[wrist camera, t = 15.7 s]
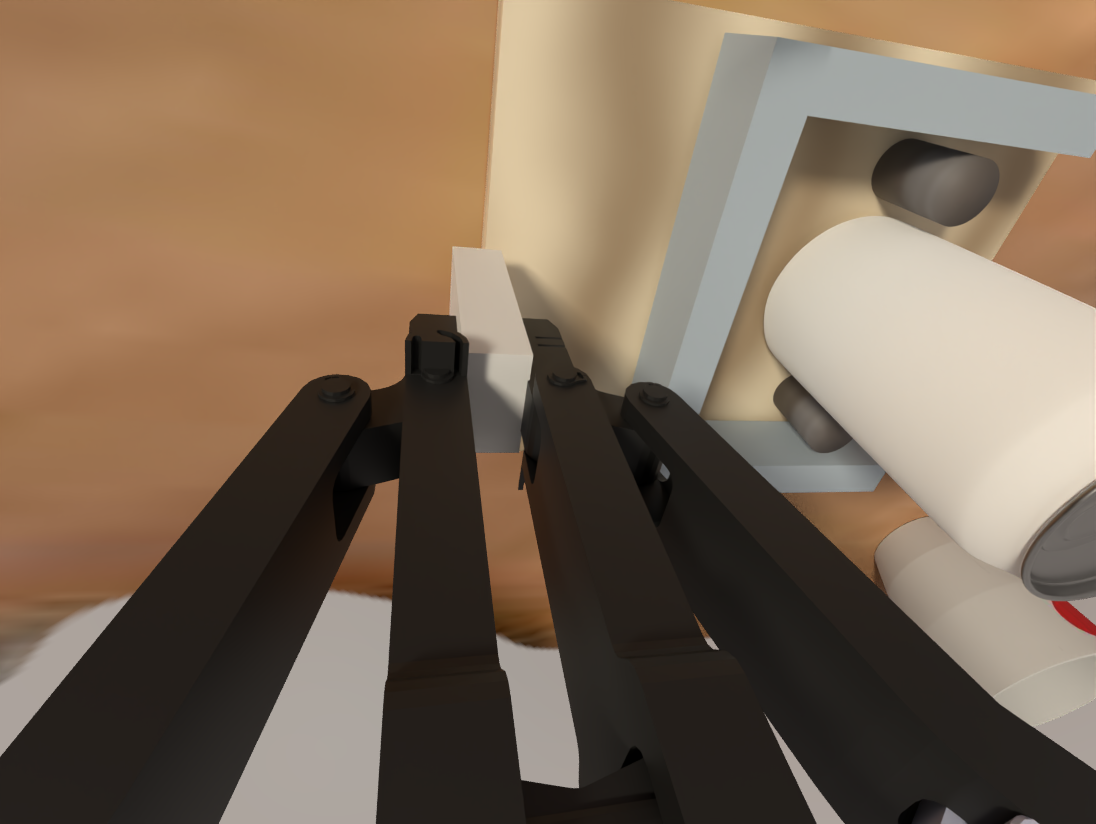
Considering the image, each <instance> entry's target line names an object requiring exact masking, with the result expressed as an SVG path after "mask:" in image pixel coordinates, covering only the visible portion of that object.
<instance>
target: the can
mask: <svg viewBox="0 0 1096 824" xmlns="http://www.w3.org/2000/svg"><path fill="white" fill-rule="evenodd" d="M764 334H765V339H766V342H767V345H768V347H769V349H770V351H771V352H772V353H773V355H774V356H775V357H776V358H777V360H778V361H779V362H780V363H781V364H782V365H783V366H784V367H785V368H786V369H787V370H788V371H789V372H790V373H791V375H792V376H793V377H794V378H795V379H796V380H797V381H798V382H799V383H800V384H801V385H802V386H803V387H804V388H805V389H806V390H807V391H808V392H809V393H810V394H811V395H812V396H813V397H814V399H815V400H816V401H817V402H818V403H819V404H820V405H821V406H822V407H823V408H824V409H825V410H826V411H827V412H828V413H829V414H830V415H831V416H832V417H833V418H834V419H835V420H836V421H837V422H838V423H839V424H840V425H841V426H842V427H843V428H844V430H845V431H846V432H847V433H848V434H849V435H850V436H851V437H852V438H853V439H854V440H855V441H856V442H857V443H858V444H859V445H860V446H861V447H862V448H863V449H864V450H865V451H866V452H867V453H868V454H869V455H870V456H871V457H872V458H873V459H874V460H875V461H876V462H877V463H878V464H879V465H880V467H881V468H882V469H883V470H884V471H885V472H886V473H887V474H888V475H889V476H890V477H891V478H892V479H893V480H894V481H895V482H896V483H897V484H898V485H899V486H900V487H901V488H902V489H903V490H904V491H905V492H906V493H907V494H908V495H909V496H910V497H911V498H912V499H913V500H914V501H915V502H916V503H917V504H918V505H919V506H920V507H921V508H922V509H923V510H924V511H925V512H926V513H927V514H928V515H929V516H930V517H931V518H932V519H933V520H934V521H935V523H936V524H937V525H938V526H939V527H940V528H941V529H942V530H943V531H945V532H946V533H947V534H948V535H949V536H950V537H951V538H952V539H953V540H954V541H955V542H956V543H957V544H958V545H959V546H960V547H962V548H963V549H964V550H965V551H966V552H968V553H969V554H970V555H972V556H974V557H975V558H977V559H979V560H981V561H983V562H985V563H988V564H990V565H992V566H994V567H997V568H999V569H1002V570H1004V571H1006V572H1009V573H1011V574H1013V575H1015V576H1017V577H1019V578H1021V579H1022V582H1023V584H1024V586H1025V588H1026V589H1027V590H1028V591H1029V592H1030V593H1032V594H1033V595H1035V596H1037V597H1039V598H1042V599H1045V600H1051V601H1073V600H1080V599H1087V598H1091V597H1096V308H1094V307H1092V306H1089V305H1087V304H1085V303H1083V302H1081V301H1078V300H1076V299H1074V298H1072V297H1070V296H1067V295H1065V294H1063V293H1061V292H1059V291H1056V290H1054V289H1052V288H1050V287H1048V286H1045V285H1043V284H1041V283H1039V282H1037V281H1034V280H1032V279H1030V278H1028V277H1026V276H1023V275H1021V274H1019V273H1017V272H1015V271H1012V270H1010V269H1008V268H1006V267H1004V266H1001V265H999V264H997V263H995V262H993V261H990V260H988V259H986V258H984V257H981V256H979V255H977V254H975V253H973V252H970V251H968V250H966V249H964V248H962V247H959V246H957V245H955V244H953V243H950V242H948V241H946V240H944V239H941V238H939V237H937V236H935V235H932V234H930V233H928V232H926V231H923V230H921V229H919V228H917V227H914V226H912V225H910V224H907V223H905V222H902V221H900V220H897V219H894V218H890V217H885V216H866V217H860V218H856V219H852V220H849V221H846V222H843V223H841V224H838V225H836V226H834V227H832V228H830V229H828V230H827V231H825V232H823V233H822V234H820V235H819V236H817V237H816V238H814V239H813V240H812V241H810V242H809V243H808V244H806V245H805V246H804V247H803V248H802V249H801V250H800V251H798V252H797V253H796V254H795V255H794V257H793V258H792V259H791V260H790V261H789V262H788V263H787V265H786V266H785V267H784V269H783V270H782V271H781V273H780V274H779V276H778V277H777V279H776V281H775V282H774V284H773V286H772V288H771V291H770V293H769V296H768V299H767V302H766V307H765V313H764Z"/></svg>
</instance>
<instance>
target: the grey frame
mask: <svg viewBox="0 0 1096 824" xmlns="http://www.w3.org/2000/svg"><path fill="white" fill-rule="evenodd" d="M807 116H812V117H819V118H826V119H832V120H839V121H846V122H852V123H859V124H866V125H873V126H879V127H886V128H893V129H899V130H906V131H913V132H919V133H926V134H933V135H940V136H946V137H953V138H960V139H966V140H973V141H980V142H987V143H993V144H1000V145H1007V146H1013V147H1020V148H1027V149H1033V150H1040V151H1047V152H1054V153H1060V154H1067V155H1074V156H1080V157H1087V158H1090V157H1091V155H1092V154H1093V152H1094V151H1095V149H1096V94H1090V93H1085V92H1079V91H1074V90H1068V89H1062V88H1057V87H1051V86H1046V85H1040V84H1035V83H1029V82H1024V81H1018V80H1013V79H1007V78H1002V77H996V76H991V75H985V74H980V73H974V72H969V71H963V70H958V69H952V68H947V67H941V66H936V65H930V64H925V63H919V62H914V61H908V60H903V59H897V58H892V57H886V56H881V55H875V54H870V53H864V52H859V51H853V50H848V49H842V48H837V47H831V46H825V45H820V44H814V43H809V42H803V41H798V40H792V39H787V38H781V37H774V36H761V35H749V34H736V33H725V34H724V38H723V42H722V45H721V49H720V53H719V57H718V60H717V64H716V68H715V72H714V75H713V79H712V83H711V87H710V91H709V94H708V98H707V102H706V106H705V109H704V113H703V117H702V121H701V124H700V128H699V132H698V136H697V139H696V143H695V147H694V151H693V155H692V158H691V162H690V166H689V170H688V173H687V177H686V181H685V185H684V188H683V192H682V196H681V200H680V203H679V207H678V211H677V215H676V218H675V222H674V226H673V230H672V234H671V237H670V241H669V245H668V249H667V252H666V256H665V260H664V264H663V267H662V271H661V275H660V279H659V282H658V286H657V290H656V294H655V298H654V301H653V305H652V309H651V313H650V316H649V320H648V324H647V328H646V331H645V335H644V339H643V343H642V346H641V350H640V354H639V358H638V362H637V365H636V369H635V373H634V377H633V380H632V384H633V383H637V382H653V383H658V384H661V385H662V386H664V387H667V388H669V389H671V390H672V391H673V392H675V393H676V394H678V395H679V396H680V397H681V398H682V399H683V400H684V401H685V402H686V403H687V404H688V405H689V406H690V407H691V408H692V409H693V410H694V411H695V412H696V413H697V414H698V415H699V414H700V411H701V408H702V405H703V403H704V400H705V397H706V394H707V392H708V389H709V386H710V383H711V381H712V378H713V375H714V372H715V370H716V367H717V364H718V361H719V358H720V356H721V353H722V350H723V347H724V345H725V342H726V339H727V336H728V334H729V331H730V328H731V325H732V323H733V320H734V317H735V314H736V312H737V309H738V306H739V303H740V301H741V298H742V295H743V292H744V290H745V287H746V284H747V281H748V279H749V276H750V273H751V270H752V268H753V265H754V262H755V259H756V257H757V254H758V251H759V248H760V246H761V243H762V240H763V237H764V234H765V232H766V229H767V226H768V223H769V221H770V218H771V215H772V212H773V210H774V207H775V204H776V201H777V199H778V196H779V193H780V190H781V188H782V185H783V182H784V179H785V177H786V174H787V171H788V168H789V166H790V163H791V160H792V157H793V155H794V152H795V149H796V146H797V144H798V141H799V138H800V135H801V133H802V130H803V127H804V124H805V121H806V119H807ZM705 421H706V422H707V423H708V424H709V425H710V426H711V427H712V428H713V429H714V430H715V431H716V432H717V433H718V434H719V435H720V436H721V437H722V438H723V439H724V440H725V441H726V442H728V443H729V444H730V445H731V446H732V447H733V448H734V449H735V450H736V451H737V452H738V453H739V454H740V455H741V456H742V457H743V458H744V459H745V460H746V461H747V462H748V463H749V464H750V465H751V466H752V467H754V468H755V469H756V470H757V471H758V472H759V473H760V474H761V475H762V476H763V477H764V478H765V479H766V480H767V481H768V482H769V483H770V484H771V485H772V486H773V487H774V488H775V489H776V490H777V491H778V492H780V493H798V492H861V491H874V489H875V488H876V486H877V485H878V483H879V482H880V480H881V479H882V477H883V475H884V474H885V471H884V470H883V469H882V468H881V467H880V465H879V464H878V463H877V462H876V461H875V460H874V459H873V458H872V457H871V456H870V455H869V454H868V453H867V452H866V451H865V450H864V449H863V448H862V447H861V446H860V445H859V444H858V443H857V442H856V441H855V440H854V439H852V440H851V441H850V442H849V443H848V444H846V445H845V446H844V447H842V448H840V449H838V450H836V451H833V452H830V453H818V452H816V451H814V450H813V449H812V448H811V447H810V446H809V445H808V443H807V442H806V441H805V440H804V439H803V438H802V436H801V435H800V434H799V433H798V432H797V431H796V429H795V428H794V427H793V426H792V425H791V424H790V422H787V421H720V420H705ZM660 472H661V473H662V475H663V476H664V477H665V478H666V479H668V477H669V475H670V472H669V471H668V469H667V468H666V467H665V465H664V464H662V467H661V470H660Z"/></svg>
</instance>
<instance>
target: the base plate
mask: <svg viewBox="0 0 1096 824" xmlns="http://www.w3.org/2000/svg"><path fill="white" fill-rule="evenodd" d="M725 33H736V34H749V35H761V36H774V37H781V38H787V39H792V40H798V41H803V42H809V43H814V44H820V45H825V46H831V47H837V48H842V49H848V50H853V51H859V52H864V53H870V54H875V55H881V56H886V57H892V58H897V59H903V60H908V61H914V62H919V63H925V64H930V65H936V66H941V67H947V68H952V69H958V70H963V71H969V72H974V73H980V74H985V75H991V76H996V77H1002V78H1007V79H1013V80H1018V81H1024V82H1029V83H1035V84H1040V85H1046V86H1051V87H1057V88H1062V89H1068V90H1074V91H1079V92H1085V93H1090V94H1095V93H1096V80H1091V79H1086V78H1080V77H1075V76H1070V75H1064V74H1059V73H1054V72H1049V71H1043V70H1038V69H1033V68H1027V67H1022V66H1017V65H1011V64H1006V63H1001V62H995V61H990V60H985V59H980V58H974V57H969V56H964V55H958V54H953V53H948V52H942V51H937V50H932V49H927V48H921V47H916V46H911V45H905V44H900V43H895V42H889V41H884V40H879V39H873V38H868V37H863V36H858V35H852V34H847V33H842V32H836V31H831V30H826V29H820V28H815V27H810V26H805V25H799V24H794V23H789V22H783V21H778V20H773V19H767V18H762V17H757V16H751V15H746V14H741V13H736V12H730V11H725V10H720V9H714V8H709V7H704V6H698V5H693V4H688V3H682V2H677V1H672V0H498V15H497V29H496V44H495V58H494V73H493V87H492V102H491V116H490V131H489V146H488V160H487V175H486V189H485V204H484V218H483V233H482V247H481V249H491V250H501V251H502V254H503V258H504V261H505V264H506V268H507V271H508V274H509V277H510V281H511V284H512V287H513V291H514V294H515V297H516V300H517V304H518V307H519V310H520V314H521V317H522V318H532V319H548V320H549V321H550V322H551V323H552V324H554V325H555V326H556V327H557V328H558V329H559V332H560V334H561V337H562V340H563V342H564V344H565V347H566V349H567V351H568V354H569V356H570V359H571V361H572V364H573V366H574V367H575V368H578V369H580V370H581V371H583V372H584V373H586V374H587V375H588V376H589V378H590V379H591V381H592V383H593V385H594V387H595V389H596V390H598V391H601V392H605V393H609V394H613V395H618V396H622V397H624V394H625V391H626V388H627V387H628V386H629V385H630V384H632V380H633V377H634V373H635V369H636V365H637V362H638V358H639V354H640V350H641V346H642V343H643V339H644V335H645V331H646V328H647V324H648V320H649V316H650V313H651V309H652V305H653V301H654V298H655V294H656V290H657V286H658V282H659V279H660V275H661V271H662V267H663V264H664V260H665V256H666V252H667V249H668V245H669V241H670V237H671V234H672V230H673V226H674V222H675V218H676V215H677V211H678V207H679V203H680V200H681V196H682V192H683V188H684V185H685V181H686V177H687V173H688V170H689V166H690V162H691V158H692V155H693V151H694V147H695V143H696V139H697V136H698V132H699V128H700V124H701V121H702V117H703V113H704V109H705V106H706V102H707V98H708V94H709V91H710V87H711V83H712V79H713V75H714V72H715V68H716V64H717V60H718V57H719V53H720V49H721V45H722V42H723V38H724V34H725ZM1057 154H1058V153H1054V152H1047V151H1040V150H1033V149H1027V148H1020V147H1013V146H1007V145H1000V144H993V143H987V142H980V141H973V140H966V139H960V138H953V137H946V136H940V135H933V134H926V133H919V132H913V131H906V130H899V129H893V128H886V127H879V126H873V125H866V124H859V123H852V122H846V121H839V120H832V119H826V118H819V117H812V116H807V119H806V121H805V124H804V127H803V130H802V133H801V135H800V138H799V141H798V144H797V146H796V149H795V152H794V155H793V157H792V160H791V163H790V166H789V168H788V171H787V174H786V177H785V179H784V182H783V185H782V188H781V190H780V193H779V196H778V199H777V201H776V204H775V207H774V210H773V212H772V215H771V218H770V221H769V223H768V226H767V229H766V232H765V234H764V237H763V240H762V243H761V246H760V248H759V251H758V254H757V257H756V259H755V262H754V265H753V268H752V270H751V273H750V276H749V279H748V281H747V284H746V287H745V290H744V292H743V295H742V298H741V301H740V303H739V306H738V309H737V312H736V314H735V317H734V320H733V323H732V325H731V328H730V331H729V334H728V336H727V339H726V342H725V345H724V347H723V350H722V353H721V356H720V358H719V361H718V364H717V367H716V370H715V372H714V375H713V378H712V381H711V383H710V386H709V389H708V392H707V394H706V397H705V400H704V403H703V405H702V408H701V411H700V414H699V416H700V417H702V418H703V419H704V420H720V421H787V422H790V424H791V425H792V426H793V427H794V428H795V429H796V431H797V432H798V433H799V434H800V435H801V436H802V438H803V439H804V440H805V441H806V442H807V443H808V445H809V446H810V447H811V448H812V449H813V450H814V451H816V452H818V453H830V452H833V451H836V450H838V449H840V448H842V447H844V446H845V445H846V444H848V443H849V442H850V441H851V440H852V439H853V438H852V437H851V436H850V435H849V434H848V433H847V432H846V431H845V430H844V428H843V427H842V426H841V425H840V424H839V423H838V422H837V421H836V420H835V419H834V418H833V417H832V416H831V415H830V414H829V413H828V412H827V411H826V410H825V409H824V408H823V407H822V406H821V405H820V404H819V403H818V402H817V401H816V400H815V399H814V397H813V396H812V395H811V394H810V393H809V392H808V391H807V390H806V389H805V388H804V387H803V386H802V385H801V384H800V383H799V382H798V381H797V380H796V379H795V378H794V377H793V376H792V375H791V373H790V372H789V371H788V370H787V369H786V368H785V367H784V366H783V365H782V364H781V363H780V362H779V361H778V360H777V358H776V357H775V356H774V355H773V353H772V352H771V351H770V349H769V347H768V345H767V342H766V339H765V334H764V313H765V307H766V302H767V299H768V296H769V293H770V291H771V288H772V286H773V284H774V282H775V281H776V279H777V277H778V276H779V274H780V273H781V271H782V270H783V269H784V267H785V266H786V265H787V263H788V262H789V261H790V260H791V259H792V258H793V257H794V255H795V254H796V253H797V252H798V251H800V250H801V249H802V248H803V247H804V246H805V245H806V244H808V243H809V242H810V241H812V240H813V239H814V238H816V237H817V236H819V235H820V234H822V233H823V232H825V231H827V230H828V229H830V228H832V227H834V226H836V225H838V224H841V223H843V222H846V221H849V220H852V219H856V218H860V217H866V216H885V217H890V218H894V219H897V220H900V221H902V222H905V223H907V224H910V225H912V226H914V227H917V228H919V229H921V230H923V231H926V232H928V233H930V234H932V235H935V236H937V237H939V238H941V239H944V240H946V241H948V242H950V243H953V244H955V245H957V246H959V247H962V248H964V249H966V250H968V251H970V252H973V253H975V254H977V255H979V256H981V257H984V258H986V259H988V260H990V261H992V260H993V258H994V257H995V255H996V253H997V252H998V250H999V248H1000V247H1001V245H1002V244H1003V242H1004V240H1005V239H1006V237H1007V235H1008V234H1009V232H1010V231H1011V229H1012V227H1013V226H1014V224H1015V222H1016V221H1017V219H1018V218H1019V216H1020V214H1021V213H1022V211H1023V210H1024V208H1025V206H1026V205H1027V203H1028V201H1029V200H1030V198H1031V197H1032V195H1033V193H1034V192H1035V190H1036V188H1037V187H1038V185H1039V184H1040V182H1041V180H1042V179H1043V177H1044V175H1045V174H1046V172H1047V171H1048V169H1049V167H1050V166H1051V164H1052V162H1053V161H1054V159H1055V158H1056V156H1057ZM519 451H524V444H523V440H522V436H521V443H520V450H519Z"/></svg>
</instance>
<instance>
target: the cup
mask: <svg viewBox="0 0 1096 824" xmlns="http://www.w3.org/2000/svg"><path fill="white" fill-rule="evenodd" d="M875 562H876V564H877V567H878V570H879V573H880V575H881V578H882V581H883V584H884V586H885V589H886V592H887V595H888V597H889V598H890V599H891V600H892V601H893V602H894V603H895V604H896V605H897V606H898V607H899V608H900V609H901V610H902V611H903V612H904V613H905V614H906V615H907V616H909V617H910V618H911V619H912V620H913V621H914V622H915V623H916V624H917V625H918V626H919V627H920V628H921V629H922V630H923V631H924V632H925V633H926V634H927V635H928V636H929V637H930V638H931V639H932V640H933V641H935V642H936V643H937V644H938V645H939V646H940V647H941V648H942V649H943V650H944V651H945V652H946V653H947V654H948V655H949V656H950V657H951V658H952V659H953V660H954V661H955V662H956V663H957V664H958V665H960V666H961V667H962V668H963V669H964V670H965V671H966V672H967V673H968V674H969V675H970V676H971V677H972V678H973V679H974V680H975V681H976V682H977V683H978V684H979V685H980V686H981V687H982V688H983V689H984V690H986V691H987V692H988V693H989V694H990V695H991V696H992V697H993V698H994V699H995V700H996V701H997V702H998V703H999V704H1000V705H1002V706H1003V707H1005V708H1006V709H1007V710H1009V711H1010V712H1012V713H1013V714H1015V715H1016V716H1018V717H1019V718H1020V719H1022V720H1023V721H1025V722H1026V723H1028V724H1029V725H1031V726H1032V727H1034V726H1037V725H1040V724H1043V723H1046V722H1048V721H1051V720H1053V719H1056V718H1058V717H1061V716H1063V715H1065V714H1067V713H1070V712H1072V711H1074V710H1076V709H1078V708H1080V707H1082V706H1084V705H1086V704H1087V703H1089V702H1091V701H1093V700H1094V699H1096V626H1095V625H1094V624H1093V623H1092V622H1091V621H1090V620H1088V619H1087V618H1086V617H1085V616H1084V615H1083V614H1081V613H1080V612H1079V611H1078V610H1077V609H1076V608H1074V607H1073V606H1072V605H1071V604H1070V603H1069V602H1067V601H1051V600H1045V599H1042V598H1039V597H1037V596H1035V595H1033V594H1032V593H1030V592H1029V591H1028V590H1027V589H1026V588H1025V586H1024V584H1023V582H1022V579H1021V578H1019V577H1017V576H1015V575H1013V574H1011V573H1009V572H1006V571H1004V570H1002V569H999V568H997V567H994V566H992V565H990V564H988V563H985V562H983V561H981V560H979V559H977V558H975V557H974V556H972V555H970V554H969V553H968V552H966V551H965V550H964V549H963V548H962V547H960V546H959V545H958V544H957V543H956V542H955V541H954V540H953V539H952V538H951V537H950V536H949V535H948V534H947V533H946V532H945V531H943V530H942V529H941V528H940V527H939V526H938V525H937V524H936V523H935V521H934V520H933V519H932V518H931V517H930V516H929V517H923V518H919V519H916V520H913V521H911V522H909V523H906V524H904V525H902V526H901V527H899V528H897V529H896V530H894V531H893V532H892V533H890V534H889V535H888V536H887V537H886V538H885V539H884V540H883V541H882V542H881V543H880V544H879V546H878V548H877V549H876V552H875Z"/></svg>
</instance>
